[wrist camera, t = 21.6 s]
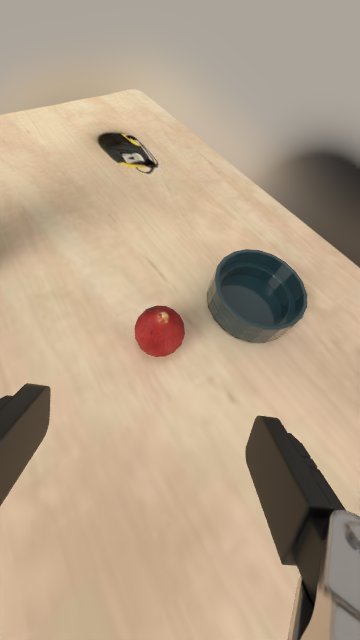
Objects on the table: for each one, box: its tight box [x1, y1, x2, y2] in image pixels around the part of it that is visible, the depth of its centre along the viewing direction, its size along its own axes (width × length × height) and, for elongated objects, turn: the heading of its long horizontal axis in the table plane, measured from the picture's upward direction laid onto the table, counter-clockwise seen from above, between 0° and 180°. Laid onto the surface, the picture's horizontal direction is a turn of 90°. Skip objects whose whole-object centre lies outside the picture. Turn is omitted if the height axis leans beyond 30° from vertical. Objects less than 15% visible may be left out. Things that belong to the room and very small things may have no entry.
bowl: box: [207, 249, 307, 342], centre depth 36 cm, size 13×13×4 cm
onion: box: [135, 306, 185, 357], centre depth 29 cm, size 6×6×8 cm
